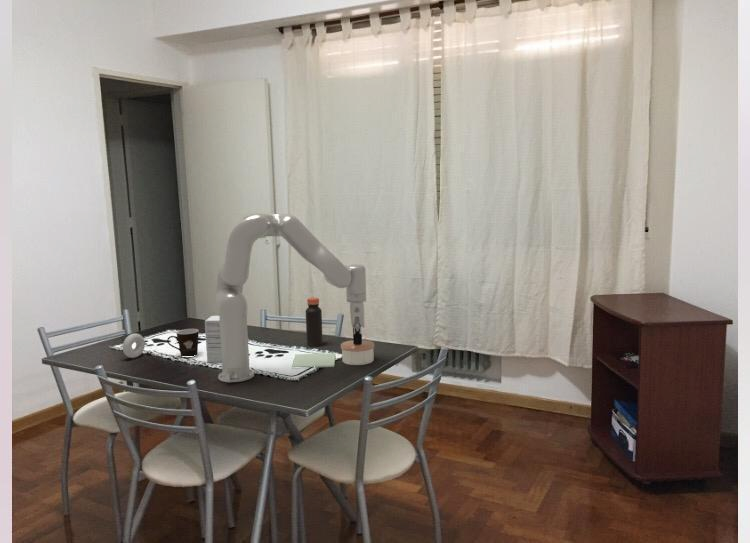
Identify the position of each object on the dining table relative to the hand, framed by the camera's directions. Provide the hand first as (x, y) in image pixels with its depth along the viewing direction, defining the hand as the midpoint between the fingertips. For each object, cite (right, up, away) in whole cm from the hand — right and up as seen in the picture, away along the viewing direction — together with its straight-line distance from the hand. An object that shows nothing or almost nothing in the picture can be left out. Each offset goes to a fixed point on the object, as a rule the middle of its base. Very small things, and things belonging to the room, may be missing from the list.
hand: (357, 340), depth 225 cm
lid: (0, -2, 0) cm, 2 cm away
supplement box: (-54, -8, +7) cm, 55 cm away
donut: (-90, -8, +11) cm, 91 cm away
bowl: (0, -8, +1) cm, 8 cm away
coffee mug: (-71, -8, +13) cm, 72 cm away
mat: (-17, -8, +1) cm, 19 cm away
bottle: (-19, -5, +25) cm, 32 cm away
